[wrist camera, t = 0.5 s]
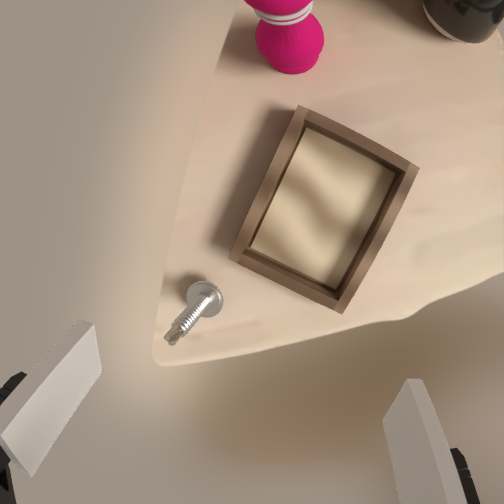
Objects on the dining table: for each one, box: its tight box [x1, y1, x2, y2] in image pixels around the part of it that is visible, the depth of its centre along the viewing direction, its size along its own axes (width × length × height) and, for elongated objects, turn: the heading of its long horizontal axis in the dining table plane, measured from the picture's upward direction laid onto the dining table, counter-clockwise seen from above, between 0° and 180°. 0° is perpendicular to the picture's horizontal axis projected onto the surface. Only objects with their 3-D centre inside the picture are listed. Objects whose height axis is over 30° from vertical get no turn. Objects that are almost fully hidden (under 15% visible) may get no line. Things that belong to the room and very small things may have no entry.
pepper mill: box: [244, 0, 324, 74], centre depth 22 cm, size 7×7×20 cm
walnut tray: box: [228, 105, 419, 314], centre depth 34 cm, size 18×14×4 cm
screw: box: [164, 281, 224, 346], centre depth 35 cm, size 13×5×5 cm
